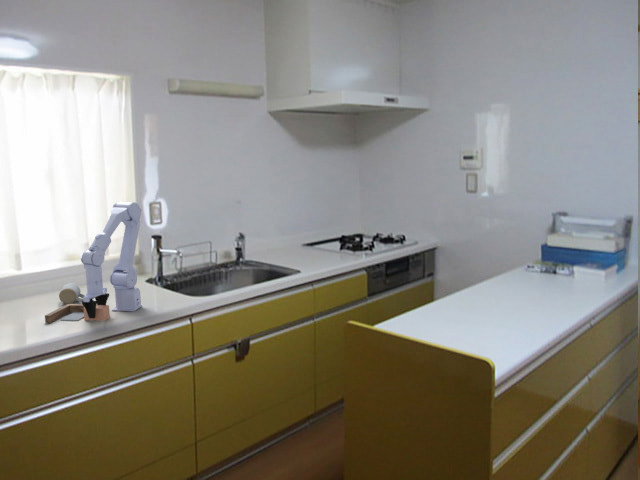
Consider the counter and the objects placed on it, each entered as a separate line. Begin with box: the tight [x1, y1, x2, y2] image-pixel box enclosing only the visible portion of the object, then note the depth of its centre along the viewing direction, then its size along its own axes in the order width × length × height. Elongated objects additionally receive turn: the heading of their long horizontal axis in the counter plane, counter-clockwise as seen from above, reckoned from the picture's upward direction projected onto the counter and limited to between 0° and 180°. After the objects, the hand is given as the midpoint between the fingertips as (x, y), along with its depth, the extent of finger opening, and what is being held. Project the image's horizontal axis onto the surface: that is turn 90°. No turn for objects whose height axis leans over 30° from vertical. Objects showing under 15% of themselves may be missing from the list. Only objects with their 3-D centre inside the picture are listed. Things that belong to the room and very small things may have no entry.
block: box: [83, 304, 111, 322], centre depth 215 cm, size 8×4×5 cm, turn 83°
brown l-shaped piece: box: [44, 303, 84, 324], centre depth 217 cm, size 12×16×3 cm
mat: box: [60, 312, 84, 322], centre depth 217 cm, size 7×10×1 cm
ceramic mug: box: [58, 282, 86, 305], centre depth 238 cm, size 11×8×8 cm
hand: (97, 315), depth 215 cm, fingers open, 7 cm apart
